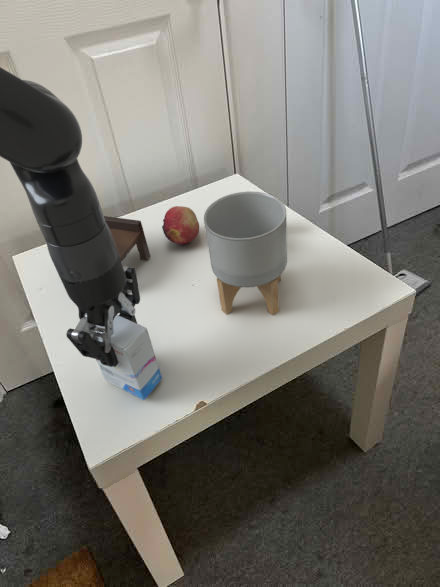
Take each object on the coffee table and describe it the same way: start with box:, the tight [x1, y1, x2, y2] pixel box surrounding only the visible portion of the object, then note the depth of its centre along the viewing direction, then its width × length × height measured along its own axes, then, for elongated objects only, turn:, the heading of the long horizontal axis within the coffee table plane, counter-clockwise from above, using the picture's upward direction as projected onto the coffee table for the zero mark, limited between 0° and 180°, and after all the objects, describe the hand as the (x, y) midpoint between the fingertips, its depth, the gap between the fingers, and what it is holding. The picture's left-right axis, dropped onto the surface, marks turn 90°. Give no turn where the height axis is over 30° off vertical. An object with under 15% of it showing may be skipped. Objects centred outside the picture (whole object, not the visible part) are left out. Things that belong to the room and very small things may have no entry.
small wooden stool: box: [104, 215, 151, 264], centre depth 91 cm, size 12×12×9 cm
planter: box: [203, 191, 288, 316], centre depth 78 cm, size 13×13×18 cm
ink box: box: [95, 314, 163, 401], centre depth 68 cm, size 9×5×12 cm, turn 58°
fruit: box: [161, 205, 200, 246], centre depth 95 cm, size 8×8×8 cm
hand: (121, 347), depth 67 cm, fingers closed on ink box, 5 cm apart
